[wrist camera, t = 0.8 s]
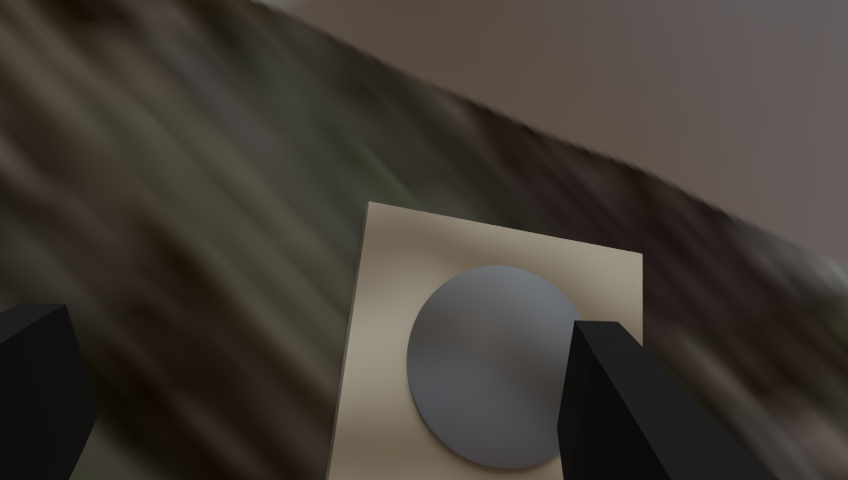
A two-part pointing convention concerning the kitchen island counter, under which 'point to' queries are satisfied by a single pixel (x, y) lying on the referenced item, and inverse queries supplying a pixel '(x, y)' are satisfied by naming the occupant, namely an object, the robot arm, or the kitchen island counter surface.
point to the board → (466, 346)
